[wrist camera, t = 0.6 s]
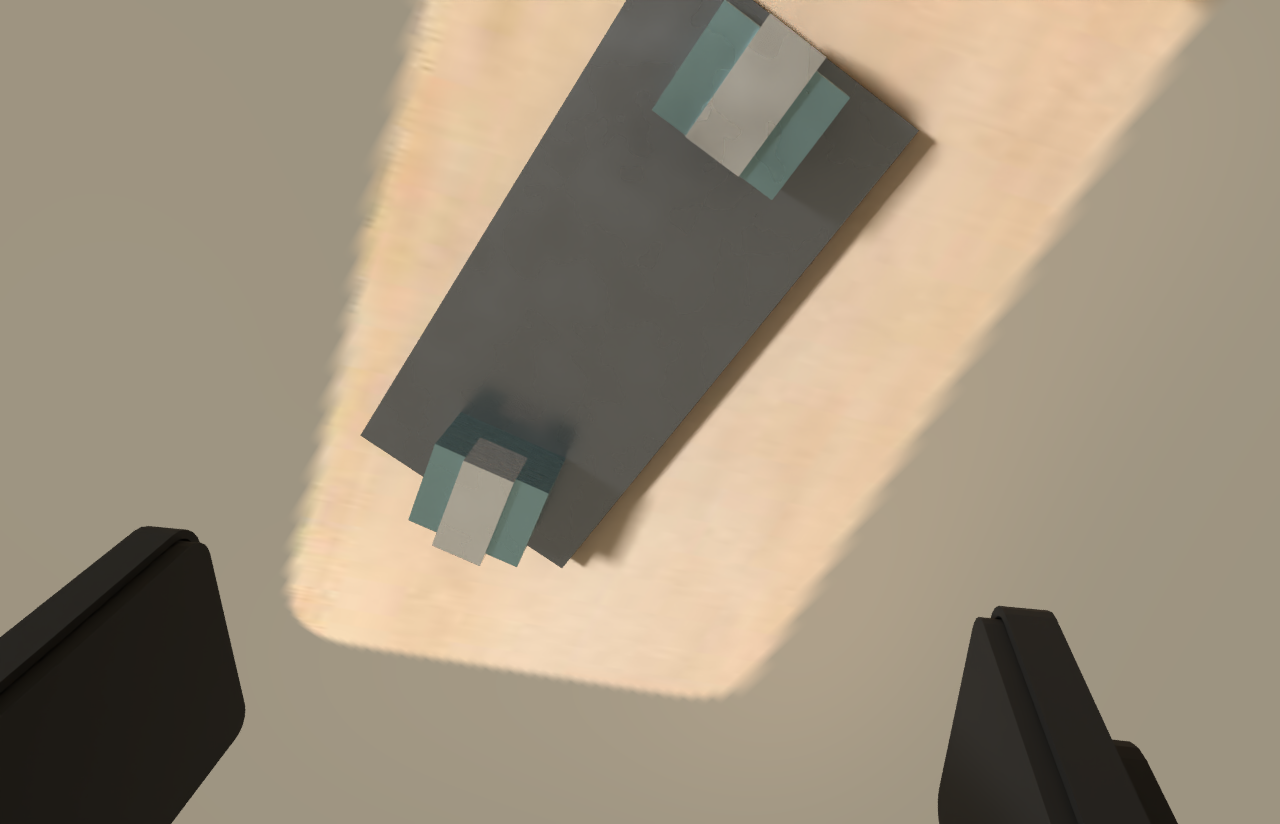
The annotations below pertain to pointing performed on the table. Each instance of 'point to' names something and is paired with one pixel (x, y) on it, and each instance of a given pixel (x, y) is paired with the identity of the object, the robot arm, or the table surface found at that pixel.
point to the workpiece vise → (627, 270)
